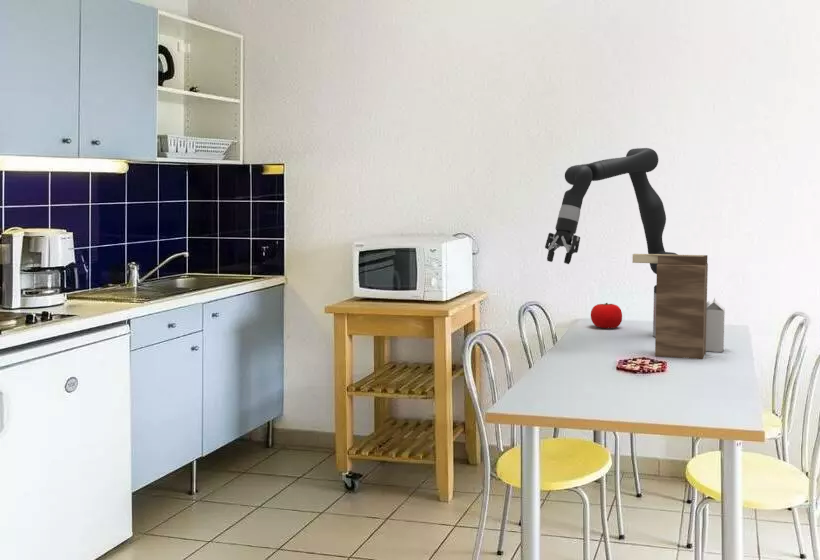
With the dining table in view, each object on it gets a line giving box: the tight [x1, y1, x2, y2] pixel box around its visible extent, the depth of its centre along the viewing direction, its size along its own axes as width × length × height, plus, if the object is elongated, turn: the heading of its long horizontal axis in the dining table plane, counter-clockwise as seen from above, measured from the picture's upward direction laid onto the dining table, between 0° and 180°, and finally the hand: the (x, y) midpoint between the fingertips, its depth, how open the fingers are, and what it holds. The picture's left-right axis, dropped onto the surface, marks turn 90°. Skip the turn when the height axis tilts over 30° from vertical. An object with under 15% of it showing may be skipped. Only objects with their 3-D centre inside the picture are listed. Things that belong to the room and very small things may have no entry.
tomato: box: [590, 302, 623, 329], centre depth 413 cm, size 14×13×10 cm
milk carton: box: [706, 296, 726, 353], centre depth 357 cm, size 7×7×19 cm
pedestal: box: [654, 254, 709, 360], centre depth 347 cm, size 12×16×35 cm
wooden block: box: [632, 253, 705, 264], centre depth 347 cm, size 3×24×3 cm, turn 69°
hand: (557, 262), depth 359 cm, fingers open, 8 cm apart
